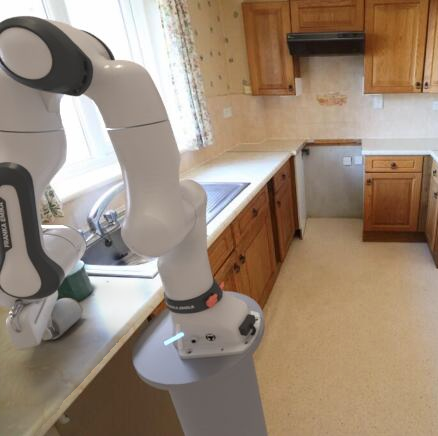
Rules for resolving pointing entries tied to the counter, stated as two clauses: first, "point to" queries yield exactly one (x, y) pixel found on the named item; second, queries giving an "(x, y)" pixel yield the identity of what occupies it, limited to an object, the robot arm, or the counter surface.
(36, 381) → the counter surface
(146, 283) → the counter surface
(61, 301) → the ceramic mug
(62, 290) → the pot
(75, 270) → the pot lid
